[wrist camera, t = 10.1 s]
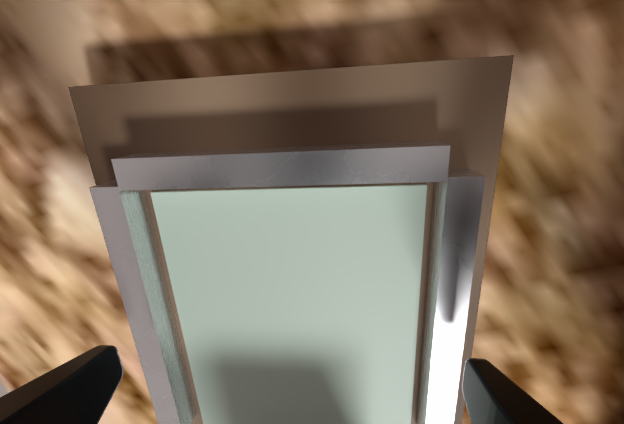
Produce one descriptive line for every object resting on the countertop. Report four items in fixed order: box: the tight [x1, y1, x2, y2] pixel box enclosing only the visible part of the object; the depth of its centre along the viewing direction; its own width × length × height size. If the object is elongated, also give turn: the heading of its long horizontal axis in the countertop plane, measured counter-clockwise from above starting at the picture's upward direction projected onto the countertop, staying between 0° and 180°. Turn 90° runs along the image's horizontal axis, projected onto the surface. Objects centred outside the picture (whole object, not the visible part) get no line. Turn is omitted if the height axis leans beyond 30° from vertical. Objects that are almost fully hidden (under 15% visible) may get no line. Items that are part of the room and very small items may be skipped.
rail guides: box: [90, 141, 485, 424], centre depth 9 cm, size 10×10×1 cm
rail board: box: [68, 55, 514, 424], centre depth 11 cm, size 11×20×1 cm, turn 3°
